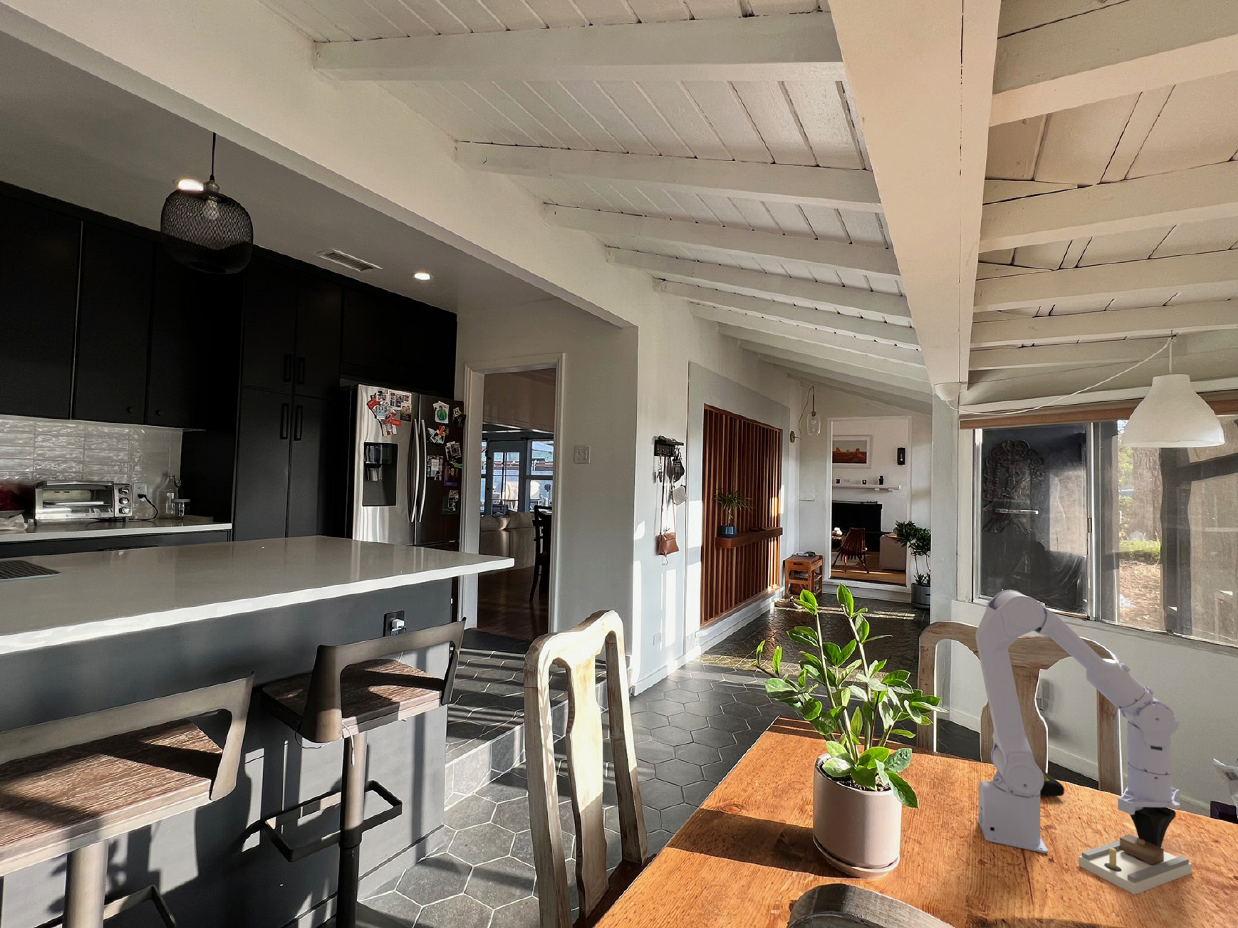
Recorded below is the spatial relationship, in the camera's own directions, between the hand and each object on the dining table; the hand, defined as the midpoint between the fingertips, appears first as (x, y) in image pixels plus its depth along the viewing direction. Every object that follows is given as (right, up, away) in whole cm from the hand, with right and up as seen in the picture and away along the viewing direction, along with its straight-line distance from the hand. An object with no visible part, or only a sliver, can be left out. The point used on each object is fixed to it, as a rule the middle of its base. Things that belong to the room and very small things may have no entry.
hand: (1150, 849), depth 103 cm
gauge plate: (-5, -2, -2) cm, 6 cm away
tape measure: (-1, -4, +26) cm, 26 cm away
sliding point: (-2, 0, -1) cm, 3 cm away
